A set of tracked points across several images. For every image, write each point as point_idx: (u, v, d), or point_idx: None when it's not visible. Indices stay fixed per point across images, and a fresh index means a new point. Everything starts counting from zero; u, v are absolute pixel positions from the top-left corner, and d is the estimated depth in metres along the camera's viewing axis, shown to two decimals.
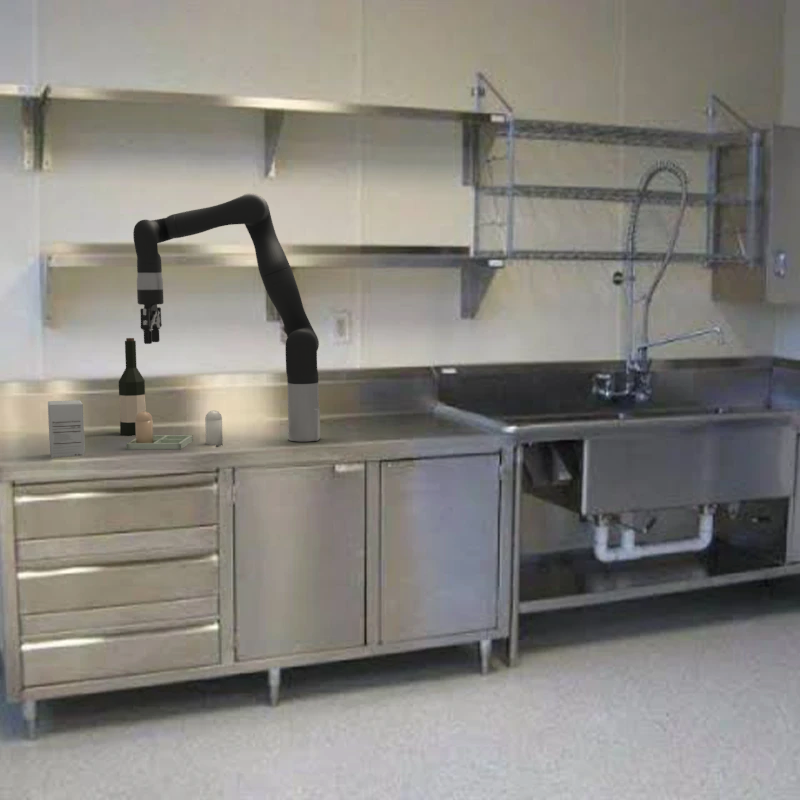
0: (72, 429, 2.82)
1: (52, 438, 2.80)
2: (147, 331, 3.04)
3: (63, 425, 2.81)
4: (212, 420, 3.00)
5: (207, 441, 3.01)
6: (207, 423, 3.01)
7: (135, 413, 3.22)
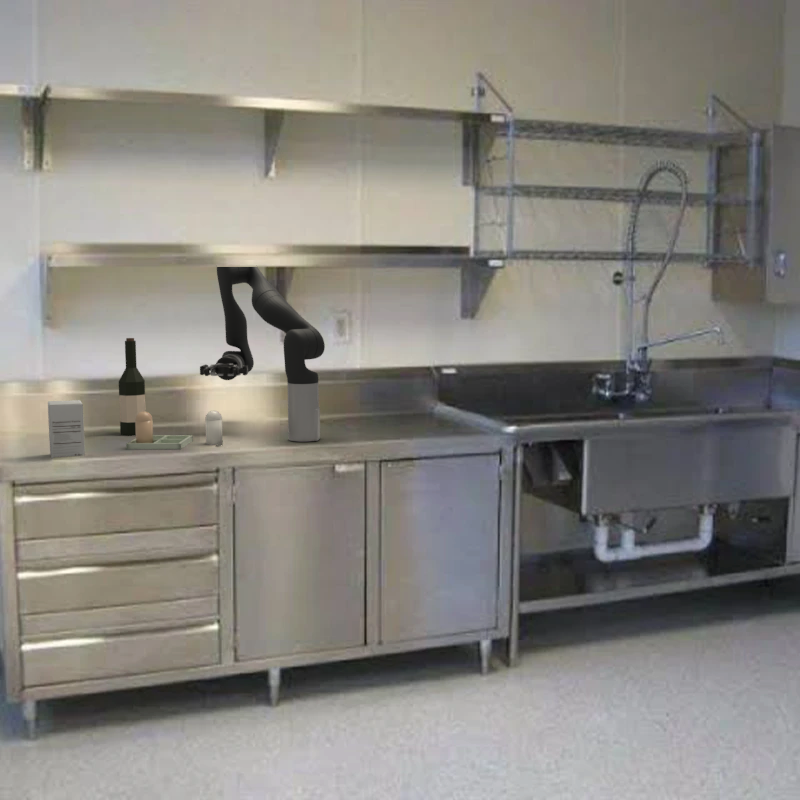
0: (72, 429, 2.82)
1: (52, 438, 2.80)
2: (204, 370, 3.16)
3: (63, 425, 2.81)
4: (212, 420, 3.00)
5: (207, 441, 3.01)
6: (207, 423, 3.01)
7: (135, 413, 3.22)
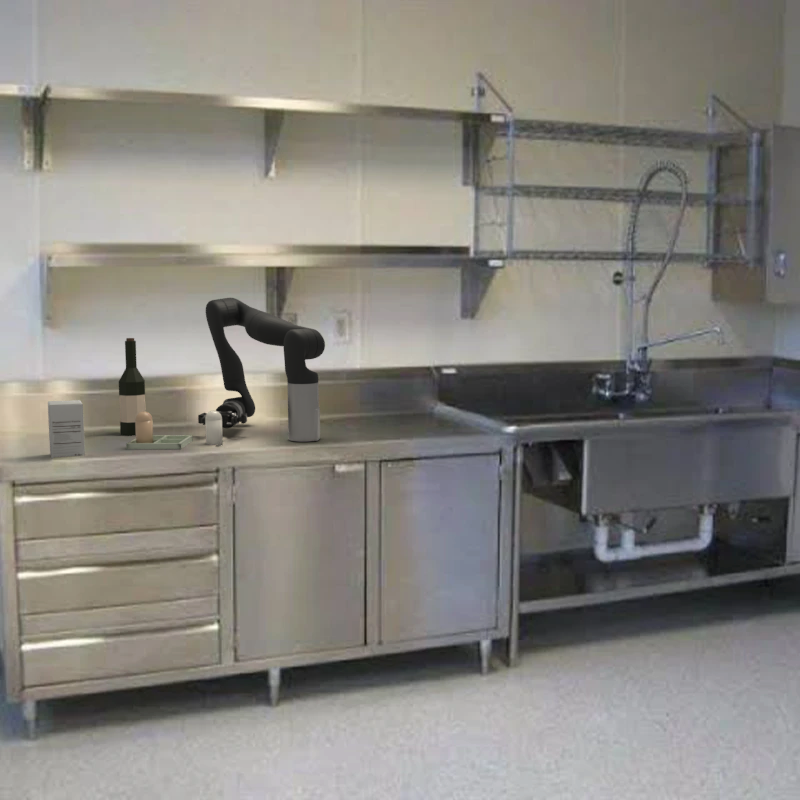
0: (72, 429, 2.82)
1: (52, 438, 2.80)
2: None
3: (63, 425, 2.81)
4: (212, 420, 3.00)
5: (207, 441, 3.01)
6: (207, 423, 3.01)
7: (135, 413, 3.22)
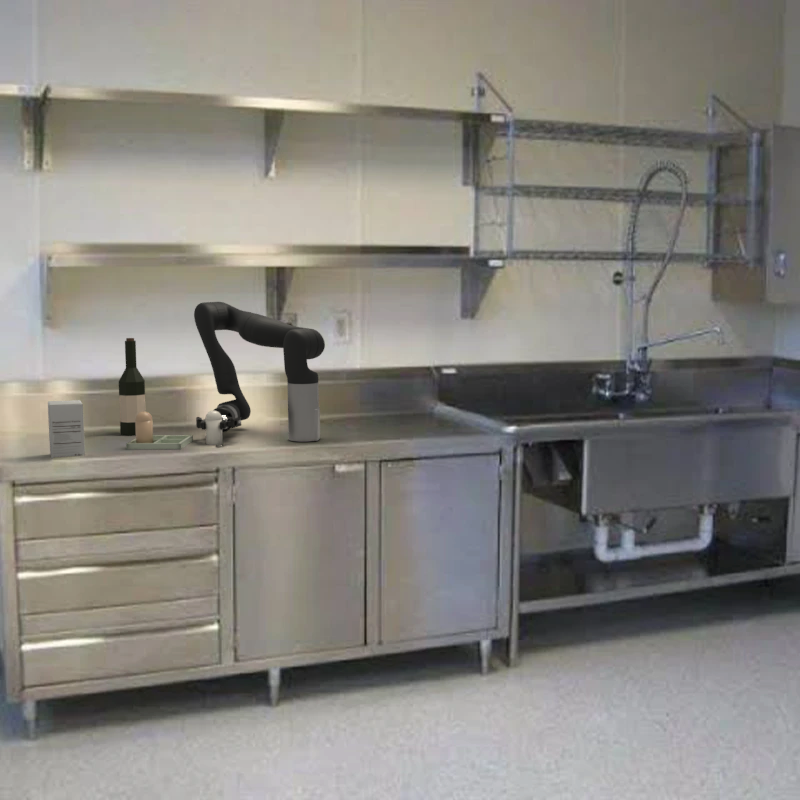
0: (72, 429, 2.82)
1: (52, 438, 2.80)
2: (201, 423, 3.04)
3: (63, 425, 2.81)
4: (212, 420, 3.00)
5: (207, 441, 3.01)
6: (207, 423, 3.01)
7: (135, 413, 3.22)
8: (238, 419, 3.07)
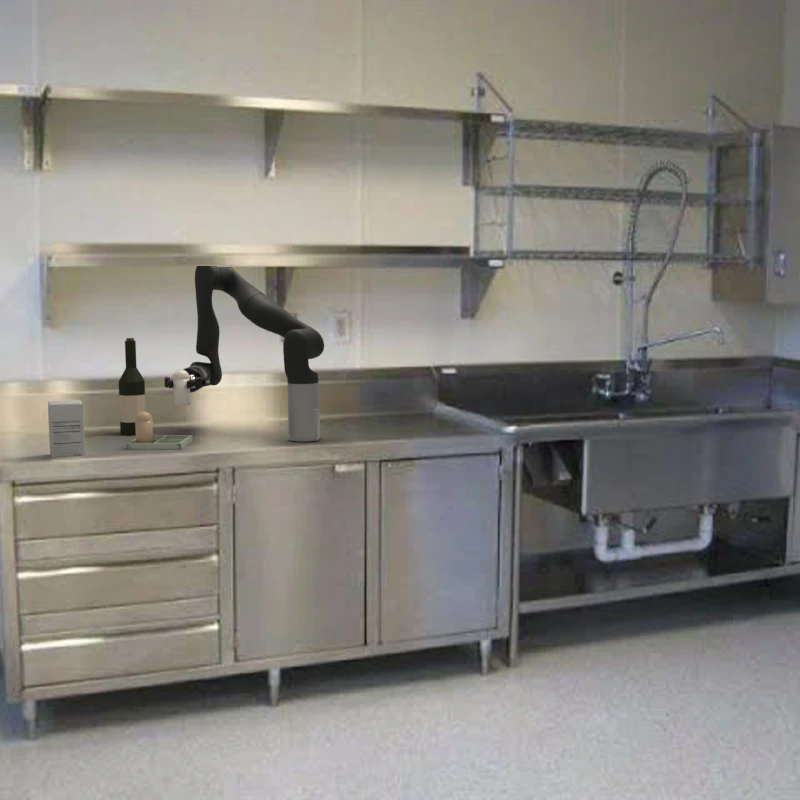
0: (73, 429, 2.82)
1: (52, 438, 2.80)
2: None
3: (63, 425, 2.81)
4: (179, 379, 3.00)
5: (174, 400, 3.01)
6: (174, 382, 3.00)
7: (135, 413, 3.22)
8: (206, 379, 3.07)
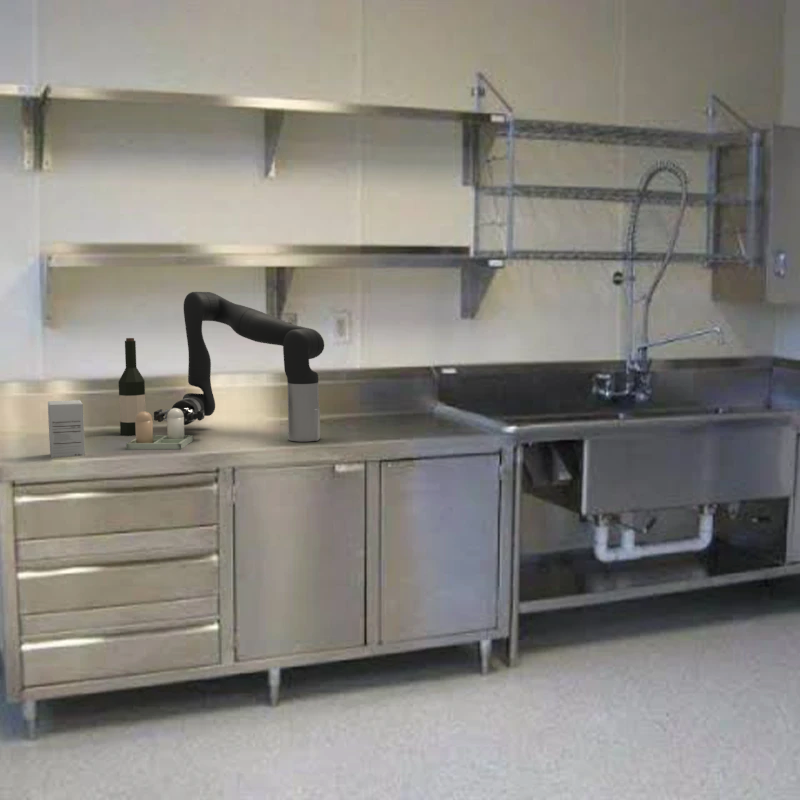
0: (72, 429, 2.82)
1: (52, 438, 2.80)
2: None
3: (63, 425, 2.81)
4: (174, 418, 3.01)
5: (169, 438, 3.02)
6: (169, 421, 3.02)
7: (135, 413, 3.22)
8: (203, 411, 3.09)
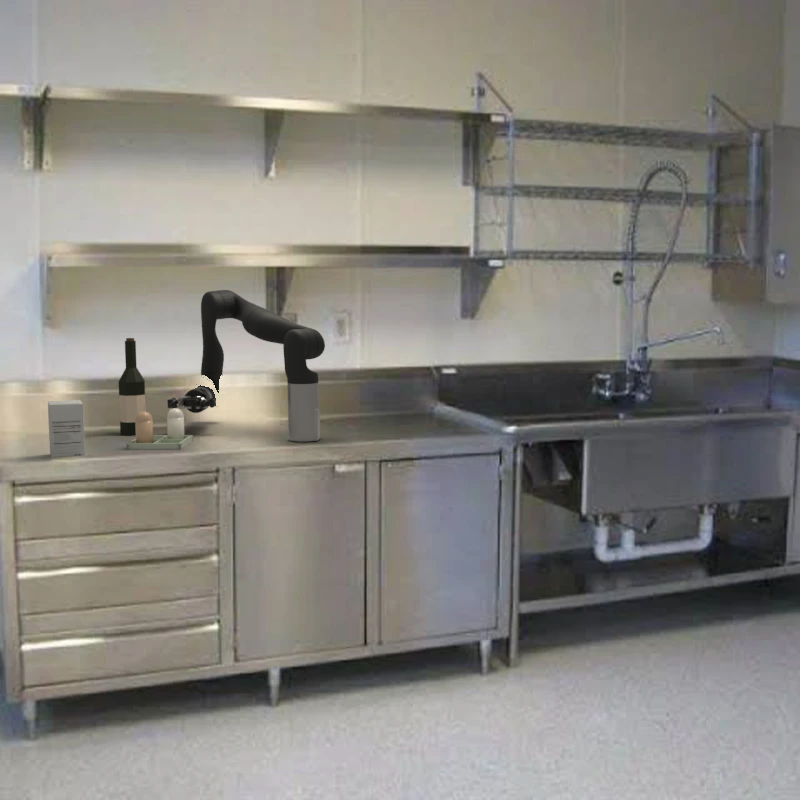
0: (73, 429, 2.82)
1: (52, 438, 2.80)
2: (171, 403, 3.18)
3: (63, 425, 2.81)
4: (173, 418, 3.01)
5: (169, 438, 3.02)
6: (169, 420, 3.02)
7: (135, 413, 3.22)
8: (214, 399, 3.22)
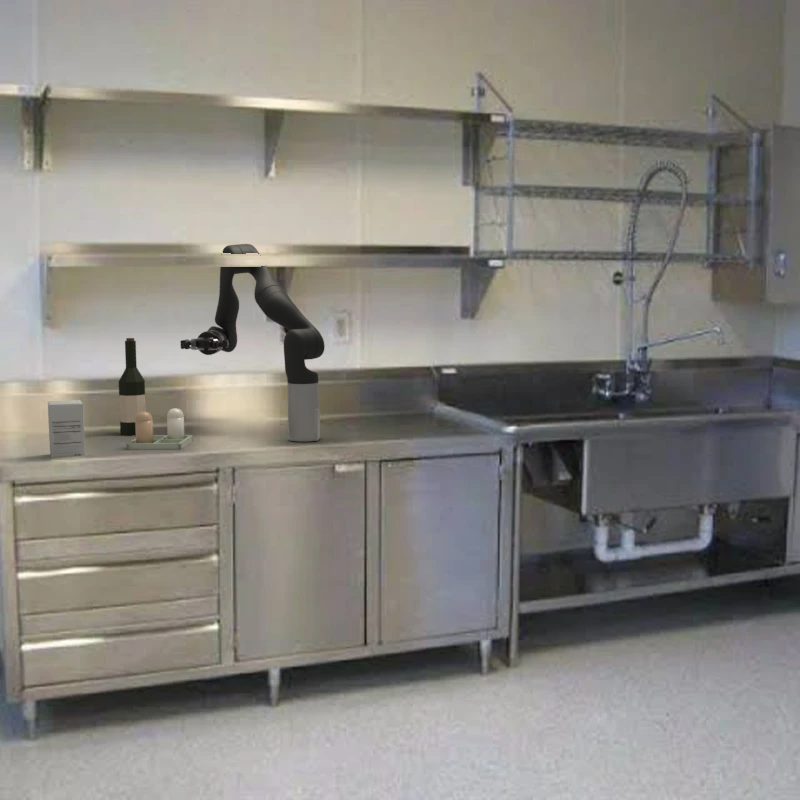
0: (72, 429, 2.82)
1: (52, 438, 2.80)
2: None
3: (63, 425, 2.81)
4: (173, 418, 3.01)
5: (169, 438, 3.02)
6: (169, 421, 3.02)
7: (135, 413, 3.22)
8: (227, 341, 3.24)
